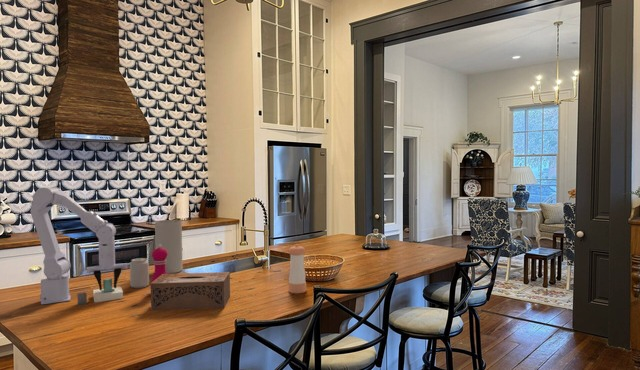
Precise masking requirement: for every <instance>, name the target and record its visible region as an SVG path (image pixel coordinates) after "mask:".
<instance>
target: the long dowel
mask: <svg viewBox="0 0 640 370" xmlns="http://www.w3.org/2000/svg"><path fill="white" fill-rule="evenodd" d="M102 282H103V283H102V285H103V287H102V289H104V293H107V292H112V287H113V280H112V278H105V279H103V280H102Z"/></svg>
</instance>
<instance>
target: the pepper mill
mask: <svg viewBox="0 0 640 370" xmlns="http://www.w3.org/2000/svg"><path fill="white" fill-rule="evenodd" d="M157 247H158V248H157V249H156V248H154V250H152V253H151V257H152V259H153V261H152V262H153V265H154V272H153V275H152V277H151V281H150V284H151V283H152V282H153V281H154V280H156V279H157V278H158V277H160V276H161V275H162V274H167V272H166V268H165V264H166V263H167V262H166V258H167V255H168V253H167V251H166V249H164V248H162V245H161V244H159V245H158V246H157Z"/></svg>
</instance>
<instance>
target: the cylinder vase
mask: <svg viewBox="0 0 640 370" xmlns="http://www.w3.org/2000/svg"><path fill="white" fill-rule="evenodd" d="M182 222H183V221H182V220H176V219H175V220H173V219H171V220H158V221H155V222H154V229H155V230H154V232H155V233H154V235H155V249H157V248H158V247H157V246H158V245H159V244H161V245H162V248H164V249H166V251H167V253H168V255H167V258H166V262H167V263H166V264H165V268H166V272H167V274H179V273H180V272H182V271H183V269H184V268H183V231H182V230H183V227H182V225H183V224H182Z"/></svg>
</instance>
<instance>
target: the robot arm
mask: <svg viewBox="0 0 640 370" xmlns="http://www.w3.org/2000/svg"><path fill="white" fill-rule="evenodd" d="M31 198H32V203H31V206H30V215H31V216H30V217H31V219H32V221H33V224H34V226H35V228H34V229H35V230H36V233H37V236H38V239H39V241H40V245H41V247H42V248H41V249H42V251H43V253H44V257H43V258H44V259H43V266H44V267H43V274H44V276H45V277H46V278H42V279H41V280H40V295H39V296H40V297H39V298H40V304H41V305H47V304H48V305H49V304H54V303H55V304H56V303H61V302H69V301H71V294H70V282H69V281H70V279H69V277H70V276H69V271H70V270H71V267H72V265H71V262H70V260H69V259H67V257H66V255H65V253H64V252H63V251H61V248H60V245H59V242H58V239H57V236H56V233H55V230H54V227H53V224H52V222H51V219H50V218H51V217H50V215H49V212H50V211H51V209H52V208H53V207H54V205H56V206H63V207H65V209H67V210H68V211H70V212H71V213H73V214H74V215H76V216H77V217H79V218H80V223H82V224H83V225H84V226H86V228H88V229H89V230H90V231H92V232H93V233H95V235H96V237H97V239H98V265H94V266H87V267H86V274H89V273H90V274H91V273H93V275H94V277H95V279H96V281H97V283H98V287H99V288H98V289H100V290H102V289H103V287H102V285H103V284H102V273H101V272H105V271H108V272H109V271H113V287H114V288H116V287H117V283H118V281H119V277H120V276H121V273H122V270H124V269H125V270H128V268H129V267H128V266H129V265H128V263H127V262H125V263H116V244H115V242H116V241H115V235H116V233H117V228H116V226H115V225H114V223H111V222H108V220H105V219H103V218H101V216H99V213H98V212H97V211H91V210H89V211H88V210H86V209H85V208H84V207H83V206H82V205H80V204H79V203H78V202H77V201H75V200H74V198H72V197H71V196H70V195H68V194H67V193H66V192H65V191H63V190H62V189H60V188H59V187H57V186H50V187H40V188H38V189H37V190H36V191H35V192H34V193H33V195H32V196H31Z"/></svg>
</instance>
